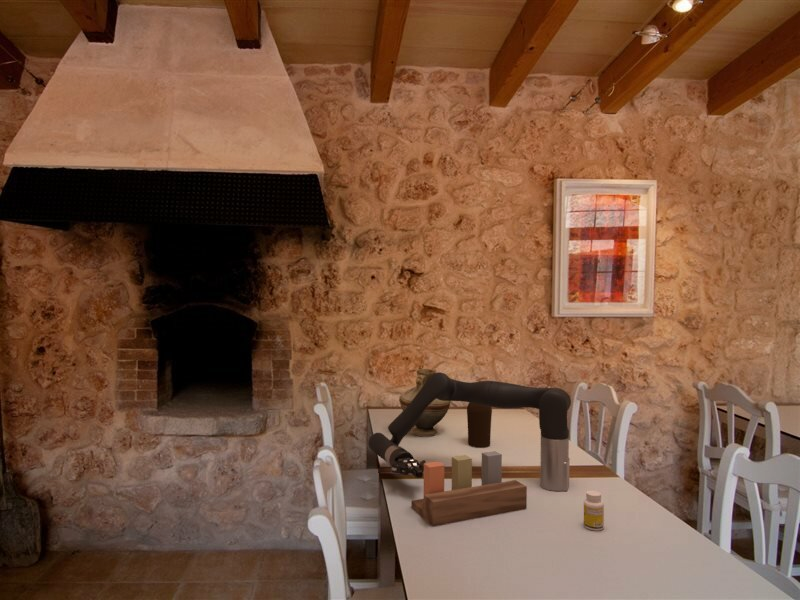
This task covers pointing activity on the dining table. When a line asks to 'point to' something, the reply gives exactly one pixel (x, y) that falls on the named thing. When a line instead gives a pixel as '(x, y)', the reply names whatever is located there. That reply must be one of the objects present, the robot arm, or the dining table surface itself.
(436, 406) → the amphora
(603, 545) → the dining table surface
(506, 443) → the dining table surface
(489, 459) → the slate key
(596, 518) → the supplement bottle
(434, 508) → the console
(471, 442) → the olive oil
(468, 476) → the khaki rectangular block
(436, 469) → the terracotta key
